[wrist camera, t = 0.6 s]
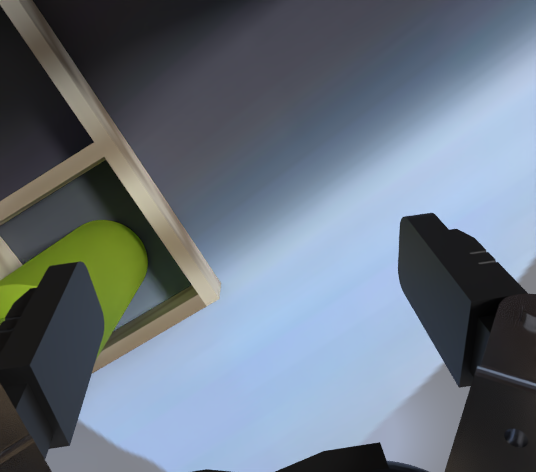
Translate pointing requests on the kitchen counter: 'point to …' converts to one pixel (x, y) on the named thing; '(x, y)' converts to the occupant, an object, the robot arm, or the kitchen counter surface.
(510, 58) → the kitchen counter surface
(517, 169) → the kitchen counter surface
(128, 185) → the caddy
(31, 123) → the kitchen counter surface
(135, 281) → the soap dispenser
